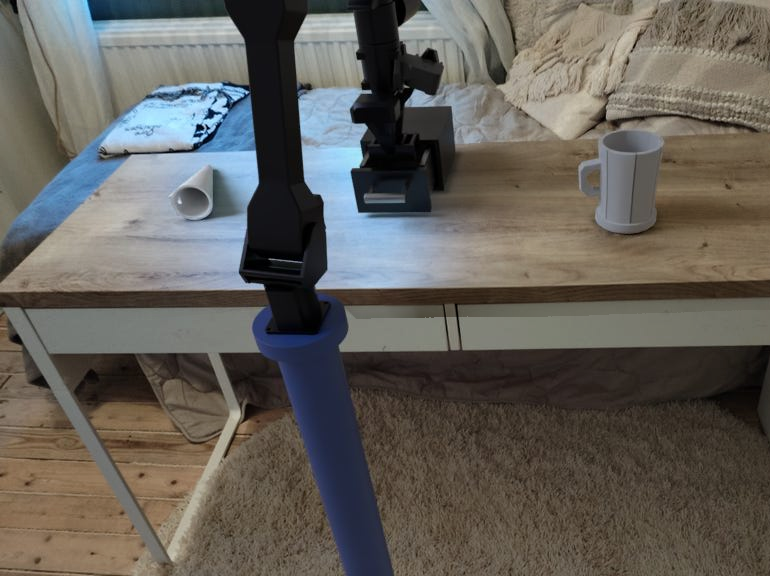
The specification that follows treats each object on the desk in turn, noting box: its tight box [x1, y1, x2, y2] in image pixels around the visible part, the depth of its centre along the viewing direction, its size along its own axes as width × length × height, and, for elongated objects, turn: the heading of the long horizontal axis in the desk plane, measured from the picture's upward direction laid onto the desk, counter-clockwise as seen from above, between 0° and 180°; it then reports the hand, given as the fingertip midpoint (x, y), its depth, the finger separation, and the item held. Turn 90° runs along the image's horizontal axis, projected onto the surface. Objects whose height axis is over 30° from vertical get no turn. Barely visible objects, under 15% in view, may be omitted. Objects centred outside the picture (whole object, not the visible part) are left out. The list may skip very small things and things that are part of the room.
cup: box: [577, 128, 665, 235], centre depth 99 cm, size 10×9×12 cm
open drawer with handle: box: [349, 144, 438, 214], centre depth 109 cm, size 18×11×7 cm, turn 174°
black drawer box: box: [359, 105, 457, 192], centre depth 118 cm, size 15×13×9 cm
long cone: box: [168, 164, 214, 221], centre depth 119 cm, size 6×6×19 cm
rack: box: [367, 132, 421, 161], centre depth 107 cm, size 7×5×2 cm
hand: (394, 148), depth 107 cm, fingers closed on rack, 5 cm apart
